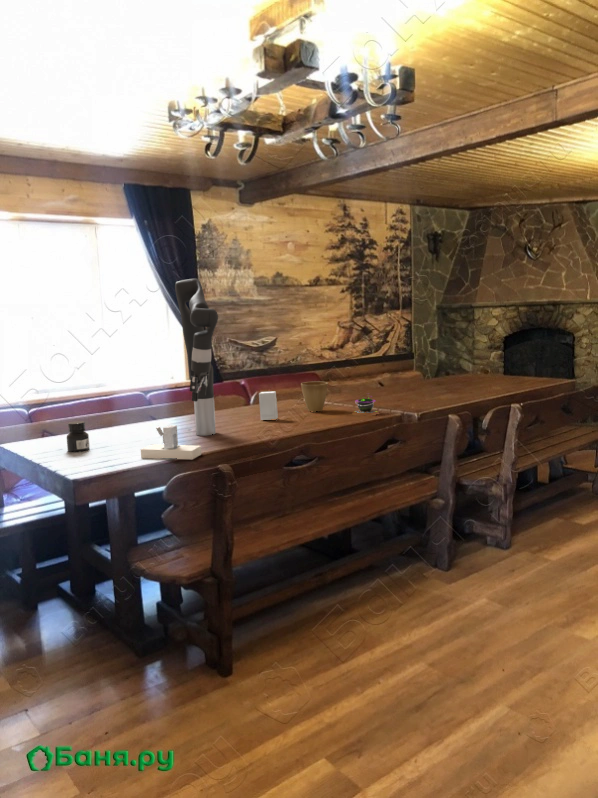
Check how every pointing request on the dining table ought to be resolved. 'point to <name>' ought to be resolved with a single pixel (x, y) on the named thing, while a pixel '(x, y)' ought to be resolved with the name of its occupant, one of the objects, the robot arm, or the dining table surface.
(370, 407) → the toy cauldron
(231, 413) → the dining table surface
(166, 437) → the pale grey rectangular block
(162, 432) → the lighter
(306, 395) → the plant pot
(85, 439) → the ink bottle
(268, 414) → the skincare box
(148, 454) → the cream recessed block
